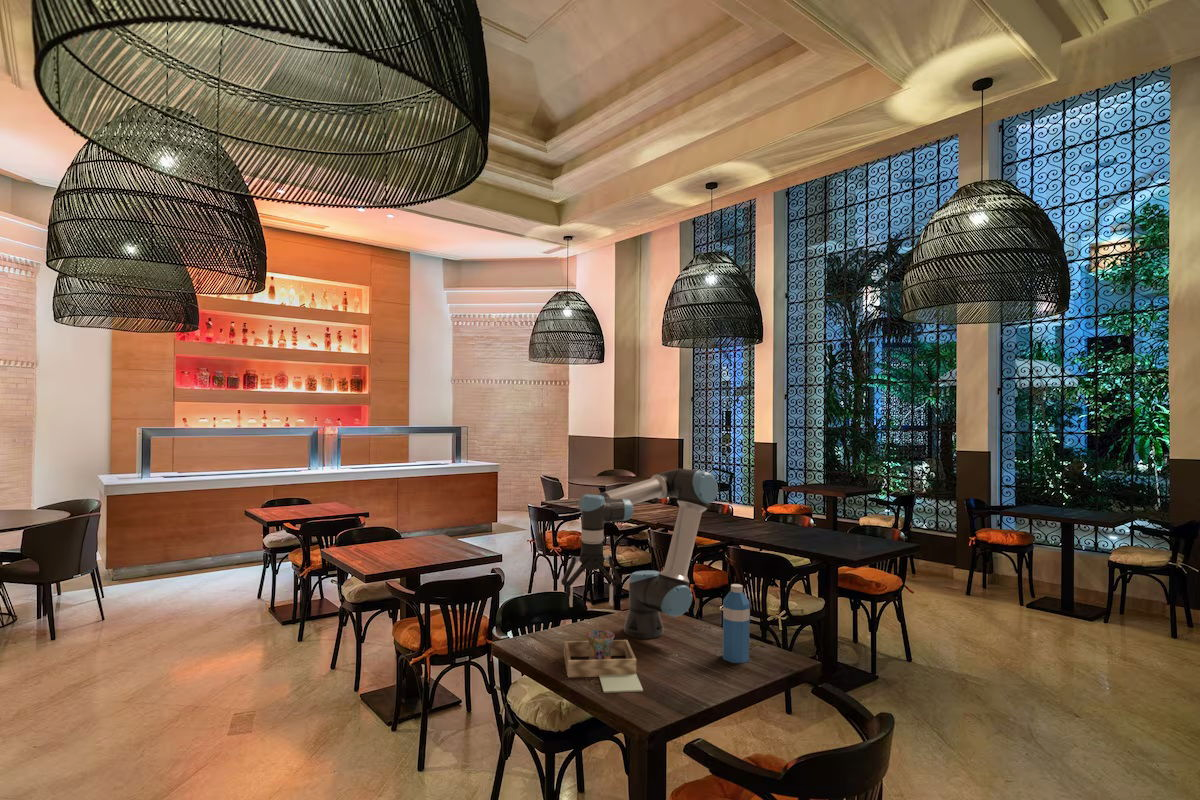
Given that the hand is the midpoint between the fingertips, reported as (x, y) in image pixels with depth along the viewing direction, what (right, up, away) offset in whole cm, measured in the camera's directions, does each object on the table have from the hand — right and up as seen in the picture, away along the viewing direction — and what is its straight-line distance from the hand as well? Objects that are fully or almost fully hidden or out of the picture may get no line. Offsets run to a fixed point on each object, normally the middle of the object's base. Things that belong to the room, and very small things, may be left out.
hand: (591, 605), depth 216 cm
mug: (+3, -20, -2) cm, 20 cm away
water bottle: (+50, -21, +7) cm, 54 cm away
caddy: (+3, -19, -2) cm, 20 cm away
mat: (+9, -19, -16) cm, 27 cm away
